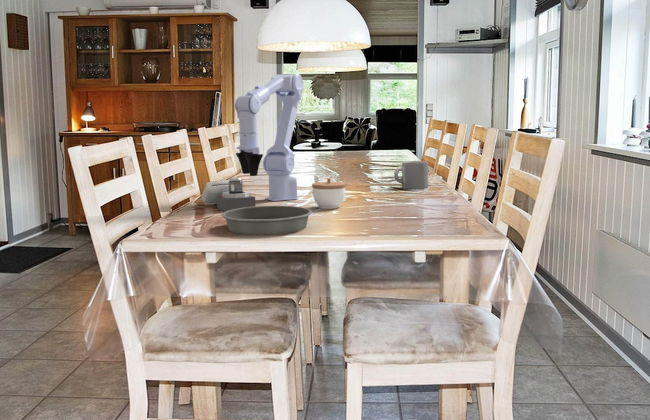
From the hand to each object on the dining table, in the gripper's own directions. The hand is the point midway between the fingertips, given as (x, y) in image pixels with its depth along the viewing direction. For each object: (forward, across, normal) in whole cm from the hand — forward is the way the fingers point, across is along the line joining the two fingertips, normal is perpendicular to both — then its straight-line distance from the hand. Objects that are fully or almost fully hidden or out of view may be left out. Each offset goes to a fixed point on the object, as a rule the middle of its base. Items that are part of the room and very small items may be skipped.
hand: (249, 174), depth 233 cm
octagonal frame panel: (+10, +3, -6) cm, 12 cm away
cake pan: (+11, +40, -9) cm, 42 cm away
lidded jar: (+11, +16, +21) cm, 28 cm away
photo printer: (+9, -12, -8) cm, 17 cm away
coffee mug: (+11, -14, +70) cm, 72 cm away
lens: (+6, +3, -6) cm, 9 cm away
